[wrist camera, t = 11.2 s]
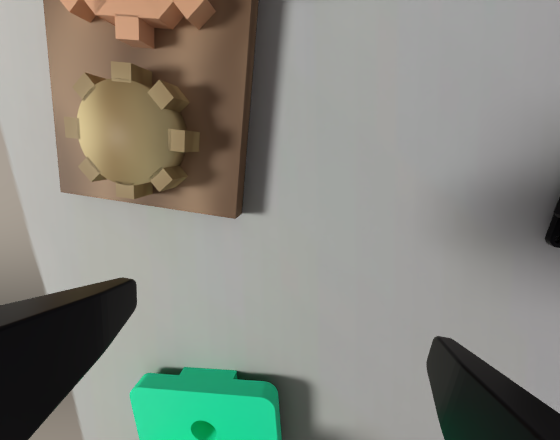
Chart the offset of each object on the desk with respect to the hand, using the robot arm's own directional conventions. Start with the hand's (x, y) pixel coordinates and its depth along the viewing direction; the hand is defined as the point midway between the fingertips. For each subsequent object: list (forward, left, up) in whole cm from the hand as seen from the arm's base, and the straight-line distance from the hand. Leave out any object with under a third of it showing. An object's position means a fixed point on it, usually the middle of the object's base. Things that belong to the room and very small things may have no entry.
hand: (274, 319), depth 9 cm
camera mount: (+5, +18, -12) cm, 23 cm away
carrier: (+11, -10, -12) cm, 19 cm away
